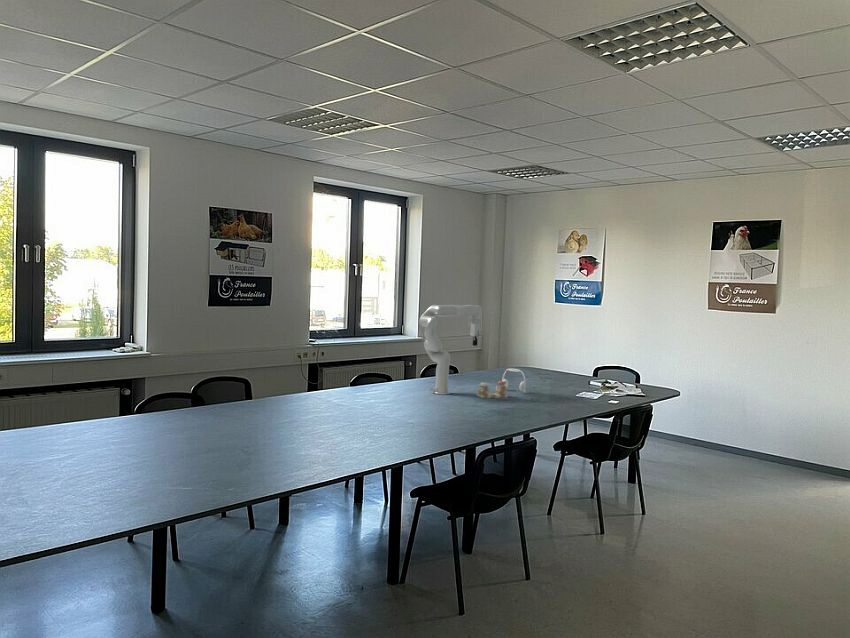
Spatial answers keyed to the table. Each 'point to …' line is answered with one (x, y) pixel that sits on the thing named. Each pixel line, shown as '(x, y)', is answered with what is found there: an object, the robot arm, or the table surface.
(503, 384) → the terracotta plug
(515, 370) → the headset
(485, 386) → the plug
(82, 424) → the table surface
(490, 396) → the block
